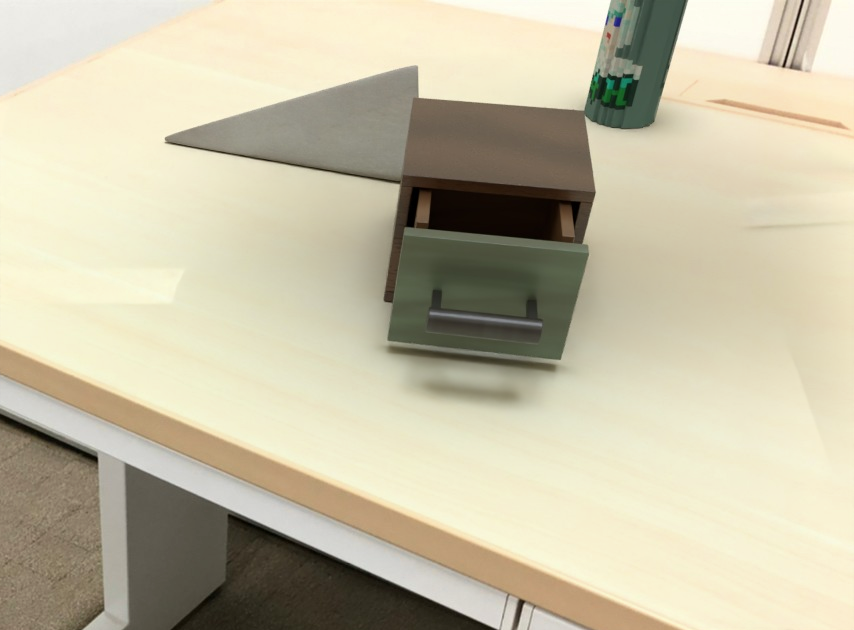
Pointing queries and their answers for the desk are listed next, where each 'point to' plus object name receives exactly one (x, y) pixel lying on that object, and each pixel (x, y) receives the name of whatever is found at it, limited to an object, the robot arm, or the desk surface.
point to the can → (633, 61)
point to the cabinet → (493, 159)
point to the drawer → (488, 274)
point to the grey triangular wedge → (324, 127)
